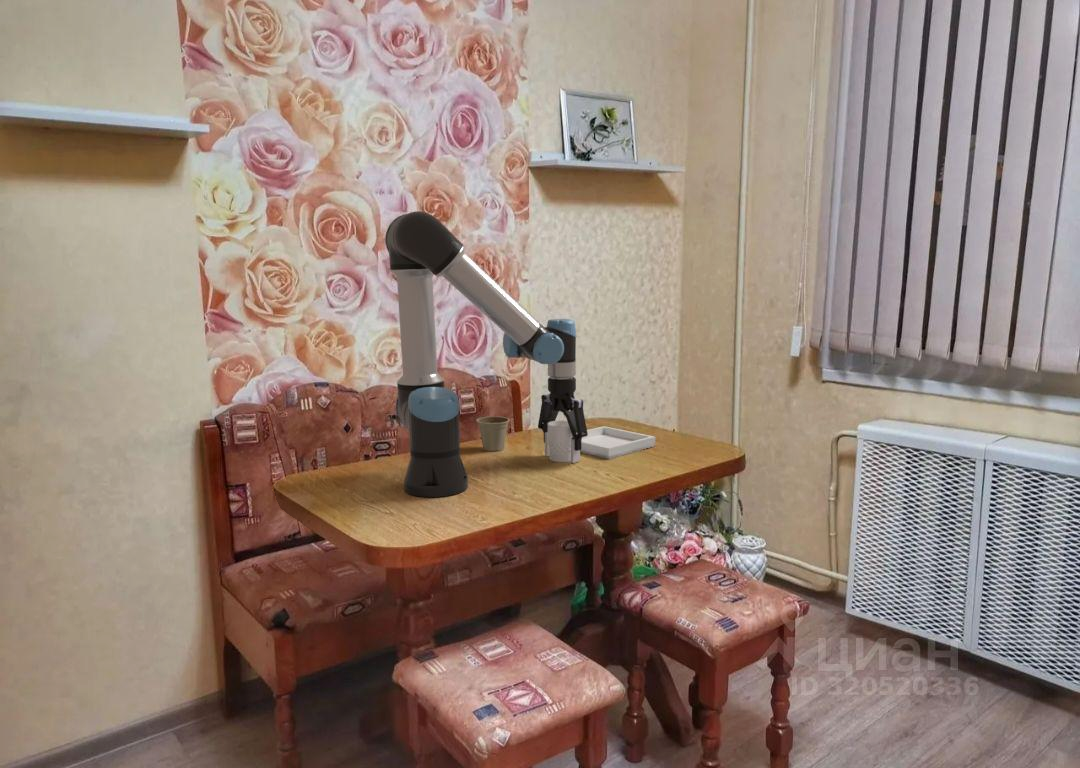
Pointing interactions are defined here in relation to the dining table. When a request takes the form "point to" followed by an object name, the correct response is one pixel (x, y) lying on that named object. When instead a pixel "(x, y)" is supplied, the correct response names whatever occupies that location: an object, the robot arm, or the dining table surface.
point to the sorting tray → (614, 442)
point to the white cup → (559, 441)
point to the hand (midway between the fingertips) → (562, 458)
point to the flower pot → (493, 432)
